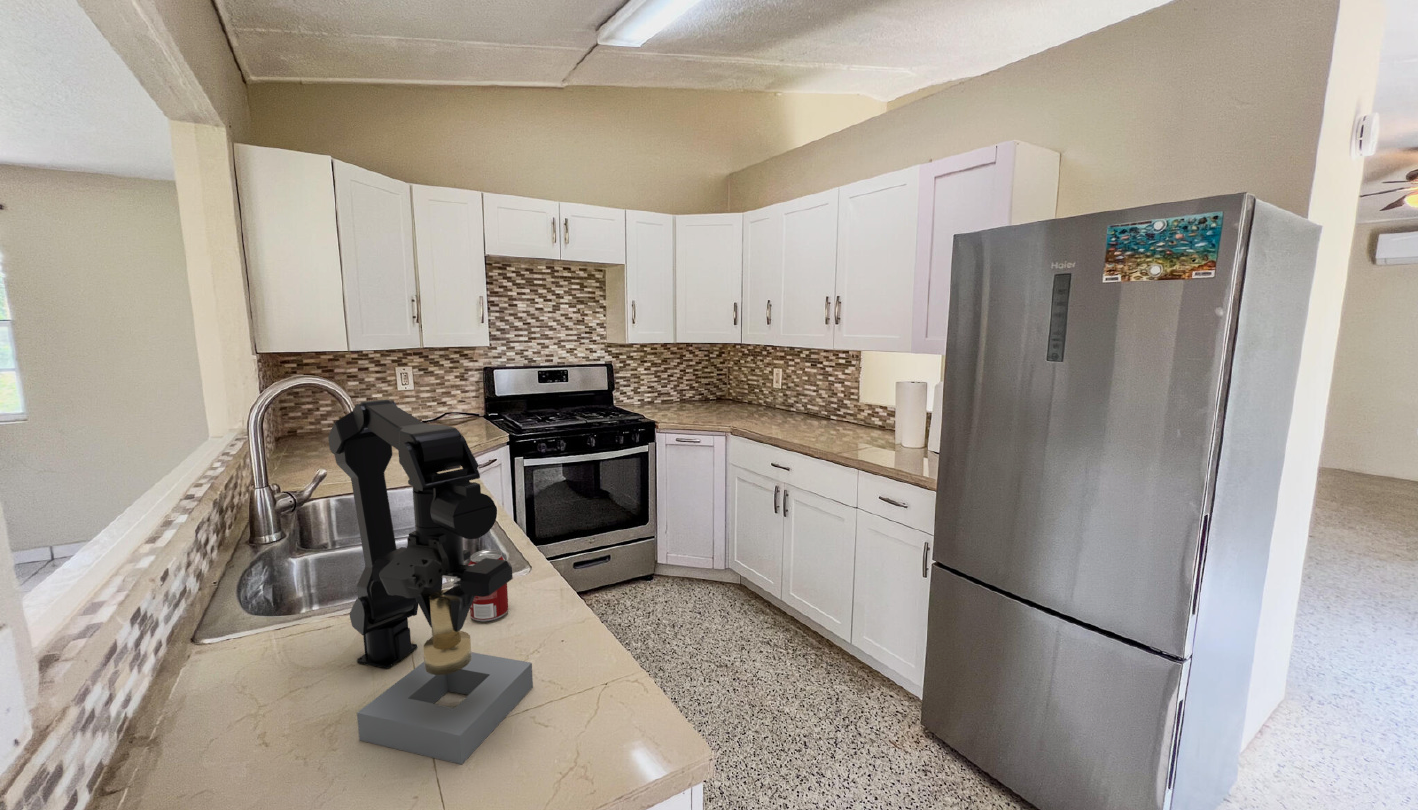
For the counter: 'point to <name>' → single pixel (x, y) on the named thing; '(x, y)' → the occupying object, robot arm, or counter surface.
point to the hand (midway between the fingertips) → (446, 628)
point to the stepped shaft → (445, 640)
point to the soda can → (491, 604)
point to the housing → (446, 708)
